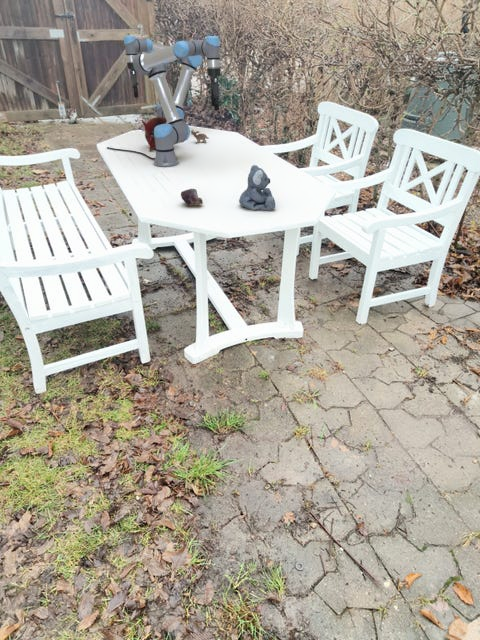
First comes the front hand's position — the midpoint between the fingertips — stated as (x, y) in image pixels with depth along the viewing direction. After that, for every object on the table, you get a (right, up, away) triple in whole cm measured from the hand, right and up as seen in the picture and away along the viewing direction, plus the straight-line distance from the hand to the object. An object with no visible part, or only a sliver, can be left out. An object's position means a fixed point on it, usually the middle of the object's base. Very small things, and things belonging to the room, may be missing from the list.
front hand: (215, 108), depth 269 cm
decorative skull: (-42, -1, +60) cm, 74 cm away
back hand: (-60, +34, +53) cm, 86 cm away
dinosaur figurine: (-15, +8, +72) cm, 74 cm away
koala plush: (+23, -69, -40) cm, 83 cm away
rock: (-10, -68, -38) cm, 78 cm away
